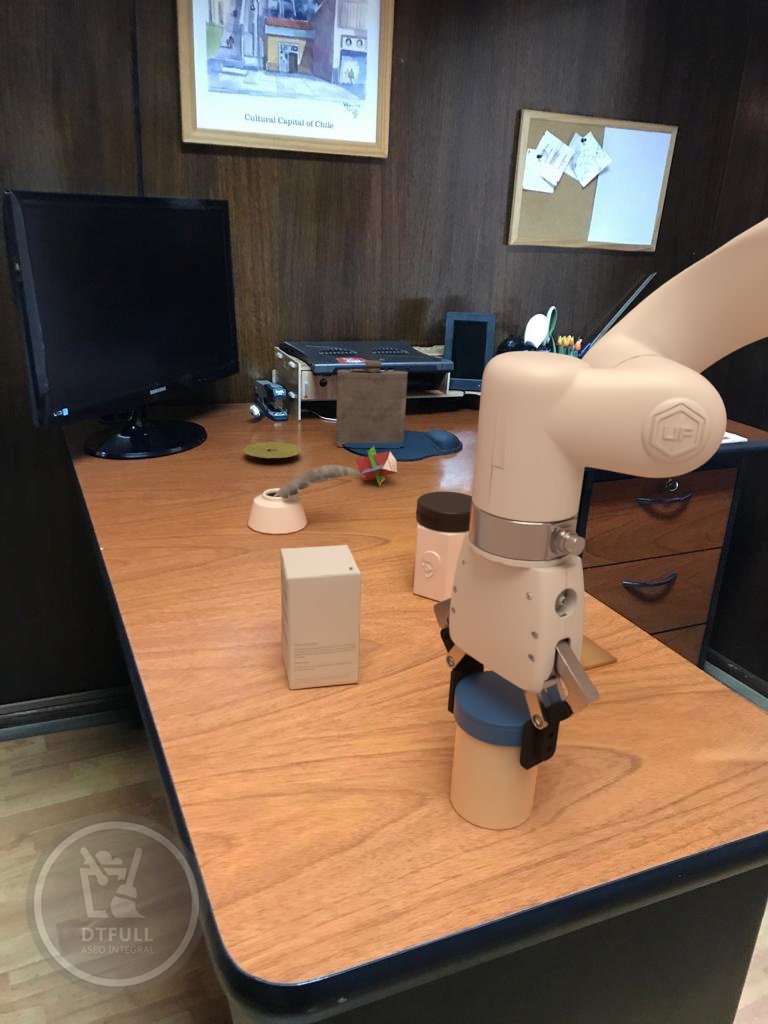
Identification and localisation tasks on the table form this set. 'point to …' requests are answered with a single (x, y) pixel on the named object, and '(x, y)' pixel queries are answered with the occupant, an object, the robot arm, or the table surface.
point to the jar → (439, 542)
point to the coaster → (594, 655)
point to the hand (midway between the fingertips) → (498, 732)
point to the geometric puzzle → (377, 465)
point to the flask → (370, 405)
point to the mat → (272, 450)
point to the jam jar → (490, 783)
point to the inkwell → (290, 501)
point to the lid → (492, 708)
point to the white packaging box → (320, 616)
